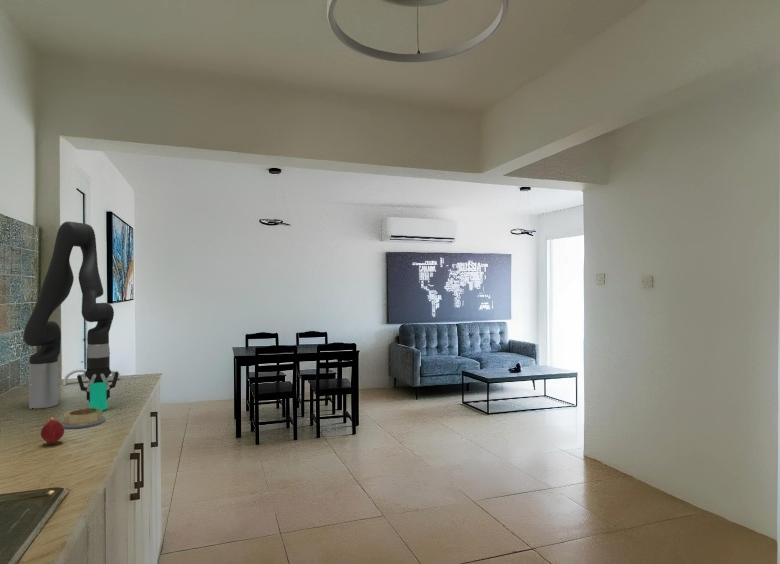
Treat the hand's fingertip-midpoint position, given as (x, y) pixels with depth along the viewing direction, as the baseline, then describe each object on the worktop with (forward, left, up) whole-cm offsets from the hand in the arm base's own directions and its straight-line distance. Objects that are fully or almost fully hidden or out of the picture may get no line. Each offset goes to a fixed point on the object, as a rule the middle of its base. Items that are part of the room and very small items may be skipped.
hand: (98, 400), depth 185 cm
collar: (-5, -16, -4) cm, 17 cm away
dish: (-5, -16, -4) cm, 17 cm away
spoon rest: (-1, +62, -5) cm, 62 cm away
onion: (-13, -36, -4) cm, 39 cm away
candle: (0, 0, -4) cm, 4 cm away
